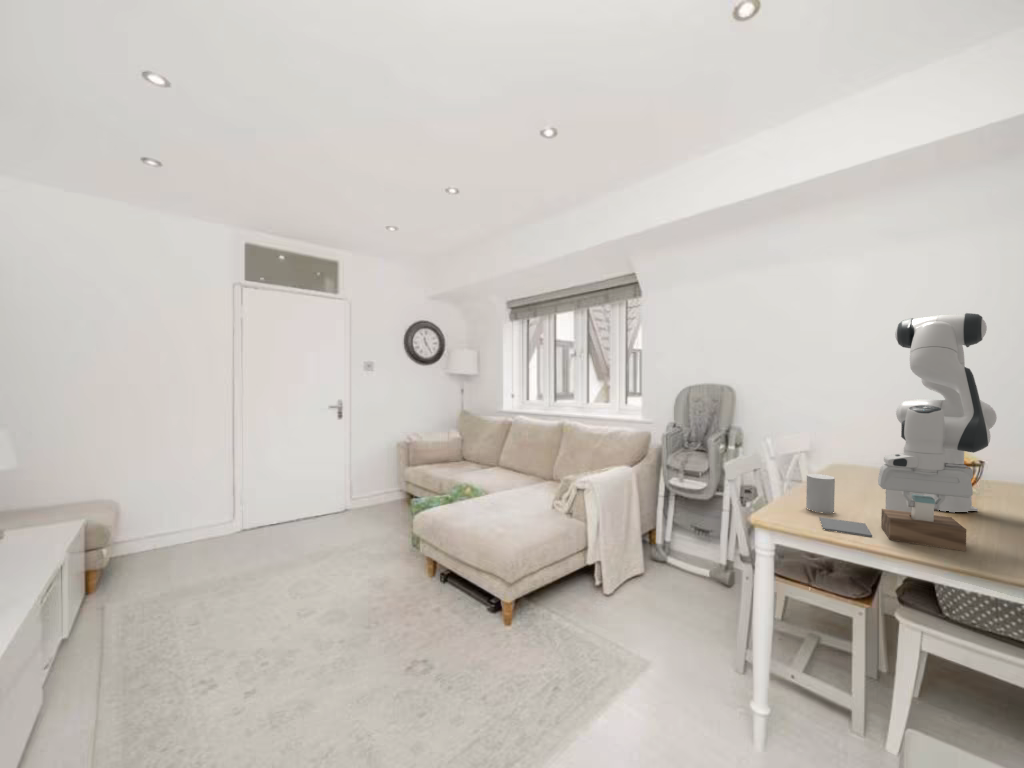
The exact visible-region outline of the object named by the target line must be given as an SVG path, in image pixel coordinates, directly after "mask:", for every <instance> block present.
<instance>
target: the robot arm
mask: <svg viewBox="0 0 1024 768" xmlns="http://www.w3.org/2000/svg"><path fill="white" fill-rule="evenodd" d="M983 318H984V317H983V316H982V315H980V314H978V313H968V312H966V313H963V314H962V313H961V314H960V313H950V314H949V313H948V314H938V315H931V316H924V317H923V316H922V317H917V318H913V317H912V318H911V317H910V318H907V319H904V320H902V321H900V322H899V323H898V324H897V327H896V329H895V332H894V333H895V334H894V335H895V336H894V337H895V340H896V341H897V344H898V345H899V346H900V347H902V348H906V349H910V350H909V351H910V352H909V368H910V370H911V371H912V373H913V374H914V375H915V376H917V377H918V378H920V380H921V383H922V385H923V386H924V387H925V388H926V389H928V390H930V391H933V392H935V393H938V394H940V395H941V396H942V397H943V398H944V399H926V398H925V399H924V398H923V399H919V398H918V399H911V400H910V399H908V400H904V401H902V402H901V403H900V404H899V405H898V406H897V409H896V411H895V412H896V413H895V415H896V418H897V420H898V422H899V423H900V424H901V430H900V431H901V436H900V437H901V439H903V440H904V441H905V444H904V446H903V452H900V453H895V454H889V455H884V456H883V461H884V463H883V464H882V465H881V466H880V469H879V471H878V472H879V473H878V479H877V485H878V486H879V487H880V489H882V490H886V489H887V490H897V491H902V494H903V496H904V497H905V499H906V500H907V506H908V507H914V504H915V502H914V501H913V500H910V499H909V497H908V496H907V495H910V492H916V493H924V496H931V497H932V498H933V499H934V500H935V504H934V511H939V510H940V511H941V512H946V511H949V512H948V513H955V512H967V513H969V512H968V511H977V512H978V511H979V508H977V507H975V506H973V504H972V503H973V500H972V496H973V494H974V493H973V492H974V491H973V484H972V479H973V477H974V471H973V468H971V467H970V466H968V465H967V464H965V452H967V453H977V452H980V451H982V450H983V449H985V448H988V447H989V444H990V441H991V431H990V430H991V429H992V428H993V427H994V426H995V424H996V422H997V417H998V416H997V413H996V411H995V410H994V408H993V406H991V405H990V404H988V403H986V402H985V401H983V400H981V399H980V395H979V391H978V385H977V384H976V380H975V377H974V374H973V372H972V370H971V369H970V368H968V367H967V366H965V352H964V346H965V347H966V348H970V347H971V346H973V345H976V344H979V343H980V342H982V341H983V339H984V337H985V335H986V334H987V329H988V328H987V323H986V321H985V320H984V319H983ZM940 511H939V512H940Z"/></svg>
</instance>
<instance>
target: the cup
mask: <svg viewBox="0 0 1024 768" xmlns="http://www.w3.org/2000/svg"><path fill="white" fill-rule="evenodd" d="M835 479H836V478H835V477H834V476H832V475H827V474H821V473H807V474H806V500H805V501H806V502H805V503H806V504H805V505H806V506H805V507H807V508H808V509H810V510H813V511H812V512H814V511H816V512H815V513H818V512H823V513H822V514H834V513H835V485H836V484H835V483H836V481H835ZM807 508H806V509H807ZM808 509H807V510H808ZM810 510H809V511H810ZM833 512H834V513H833Z"/></svg>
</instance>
